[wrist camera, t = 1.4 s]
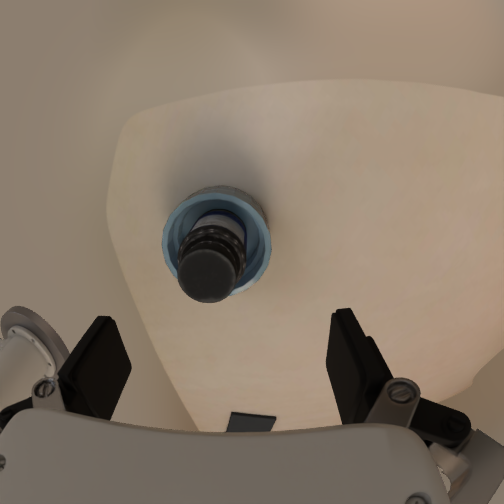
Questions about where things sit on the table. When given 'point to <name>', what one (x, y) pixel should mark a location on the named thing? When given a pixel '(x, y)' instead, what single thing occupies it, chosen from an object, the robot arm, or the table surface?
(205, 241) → the pill bottle
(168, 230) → the bowl
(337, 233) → the table surface
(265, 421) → the mat
